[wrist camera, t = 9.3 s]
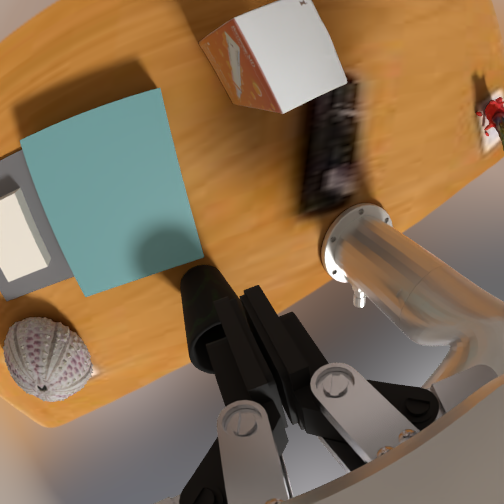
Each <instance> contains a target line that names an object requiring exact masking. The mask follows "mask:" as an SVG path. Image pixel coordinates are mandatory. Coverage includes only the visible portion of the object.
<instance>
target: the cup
mask: <svg viewBox="0 0 504 504" xmlns="http://www.w3.org/2000/svg"><path fill="white" fill-rule="evenodd" d="M180 288H181V297H182V305H183V314H184V322H185V330H186V337H187V344H188V352H189V357H190V360H191V362H192V363H193V365H194V366H195V367H196V368H198V369H199V370H201V371H204V372H206V373H210V374H215V373H214V370H213V367H212V364H211V361H210V357H209V354H208V351H207V347H206V344H208V343H211V342H213V341H216V340H219V339H222V338H224V337H226V334H225V332H224V329H223V327H222V324H221V321H220V319H219V316H218V313H217V311H216V308H215V305H214V303H213V301H216V300H219V299H221V298H224V297H227V296H228V298H229V300H231V299H234V298H235V299H236V301H237V303H238V305H239V307H240V309H241V311H242V314H243V316H244V318H245V320H246V317H245V314H244V310H243V307H242V304H241V301H240V299H239V298H238V296H237V295H236V294H235V292H234V291H233V289H232V288H231V287H230V285H229V284H228V282H227V281H226V280H225V278H224V277H223V275H222V274H221V272H220V271H219V270H218V269H216V268H215V267H213V266H209V265H199V266H196V267H193V268H191V269H190V270H188V271H187V272H186V273H185V274H184V276H183V278H182V280H181V287H180ZM246 322H247V320H246ZM247 324H248V323H247Z"/></svg>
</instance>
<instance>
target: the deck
mask: <svg viewBox="0 0 504 504" xmlns="http://www.w3.org/2000/svg"><path fill="white" fill-rule="evenodd" d="M20 143H21V147H22V150H23V153H24V156H25V159H26V162H27V165H28V168H29V171H30V174H31V177H32V179H33V182H34V185H35V188H36V190H37V193H38V196H39V198H40V201H41V203H42V206H43V208H44V211H45V213H46V216H47V218H48V220H49V223H50V225H51V227H52V230H53V232H54V234H55V236H56V239H57V241H58V243H59V245H60V247H61V249H62V252H63V254H64V256H65V258H66V260H67V262H68V264H69V266H70V268H71V270H72V272H73V274H74V276H75V278H76V280H77V282H78V284H79V286H80V288H81V290H82V291H83V293H84V295H85V297H87V296H90V295H93V294H96V293H99V292H102V291H105V290H108V289H111V288H114V287H117V286H120V285H123V284H126V283H129V282H132V281H135V280H138V279H141V278H144V277H146V276H149V275H152V274H155V273H158V272H161V271H164V270H167V269H170V268H173V267H176V266H179V265H182V264H185V263H188V262H191V261H194V260H197V259H200V258H203V257H204V254H203V251H202V247H201V244H200V240H199V237H198V233H197V230H196V226H195V223H194V219H193V216H192V212H191V208H190V205H189V201H188V197H187V194H186V190H185V186H184V182H183V179H182V175H181V171H180V167H179V163H178V159H177V155H176V151H175V147H174V143H173V139H172V135H171V131H170V127H169V123H168V119H167V115H166V111H165V106H164V102H163V98H162V93H161V89H160V88H157V89H153V90H150V91H146V92H143V93H140V94H136V95H133V96H130V97H127V98H124V99H121V100H118V101H115V102H112V103H109V104H106V105H103V106H100V107H97V108H95V109H92V110H89V111H87V112H84V113H81V114H79V115H76V116H74V117H71V118H69V119H66V120H64V121H61V122H59V123H57V124H54V125H52V126H50V127H48V128H45V129H43V130H41V131H39V132H37V133H34V134H32V135H30V136H28V137H26V138H24V139H22V140H20Z"/></svg>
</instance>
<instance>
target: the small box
mask: <svg viewBox="0 0 504 504" xmlns="http://www.w3.org/2000/svg"><path fill="white" fill-rule="evenodd" d="M198 44H199V45H200V47H201V48H202V50H203V51H204V53H205V55H206V56H207V58H208V60H209V61H210V63H211V65H212V67H213V68H214V70H215V72H216V74H217V75H218V77H219V79H220V81H221V83H222V84H223V86H224V88H225V90H226V92H227V94H228V96H229V98H230V99H231V101H232V103H233V104H235V105H241V106H246V107H252V108H257V109H263V110H267V111H272V112H277V113H282V114H284V113H286V112H288V111H290V110H292V109H294V108H296V107H298V106H300V105H302V104H304V103H306V102H308V101H310V100H312V99H314V98H316V97H318V96H320V95H322V94H325V93H327V92H329V91H331V90H333V89H335V88H338V87H340V86H342V85H344V84H346V83H347V79H346V76H345V73H344V71H343V68H342V66H341V63H340V60H339V58H338V56H337V53H336V51H335V48H334V46H333V43H332V40H331V38H330V35H329V33H328V31H327V29H326V27H325V25H324V24H323V22H322V20H321V18H320V16H319V14H318V12H317V10H316V8H315V6H314V4H313V2H312V0H278V1H275V2H273V3H270V4H267V5H265V6H262V7H259V8H257V9H254V10H252V11H249V12H247V13H244V14H242V15H239V16H237V17H234V18H232V19H231V20H229V21H228V22H226V23H225V24H223V25H222V26H220V27H219V28H217V29H216V30H214V31H213V32H212V33H210V34H209V35H207V36H206V37H205V38H203V39H202V40H201V41H199V43H198Z"/></svg>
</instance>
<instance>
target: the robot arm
mask: <svg viewBox="0 0 504 504" xmlns="http://www.w3.org/2000/svg"><path fill="white" fill-rule="evenodd" d="M321 258H322V264H323V266H324V269H325V270H326V272H327V273H328V274H329V275H330V276H331V277H332V278H333V279H335V280H337V281H339V282H344V283H350V284H351V285H352V289H353V291H354V302H353V303H354V305H355V306H356V307H363V306H364V305H365V300H366V296H367V297H368V298H369V299H370V300H371V301H372V302H373V303H374V304H375V305H376V306H377V307H378V308H379V309H380V310H381V311H382V312H383V313H384V314H385V315H386V316H387V317H388V318H389V319H390V320H391V321H392V322H393V323H394V324H395V325H396V326H397V327H398V328H399V329H400V330H401V331H402V332H404V334H405V335H406V336H407V337H408V338H410V339H411V340H412V341H414V342H416V343H418V344H420V345H425V346H441V345H450V350H449V352H448V353H447V355H446V356H445V358H444V359H443V361H442V363H441V364H440V365H439V366H438V368H437V369H436V370H435V371H434V373H433V374H432V375H431V376H430V378H429V379H428V380H427V381H426V382H425V383H424V385H423V386H422V387H421V388H420V387H412V386H405V385H398V384H391V383H384V382H378V381H371V380H366V379H365V378H363V377H362V376H361V375H360V374H359V373H358V372H357V371H356V370H355V369H354V368H352V367H351V366H350V365H347V364H344V363H331V364H329V363H328V362H327V360H326V359H325V358H324V356H323V355H322V353H321V352H320V350H319V349H318V347H317V346H316V344H315V343H314V341H313V340H312V338H311V337H310V335H309V334H308V333H307V331H306V330H305V328H304V327H303V325H302V324H301V322H300V321H299V319H298V318H297V316H296V315H295V314H294V313H293V312H290V313H287V314H285V315H282V316H280V317H278V315H277V314H276V312H275V310H274V309H273V307H272V306H271V304H270V302H269V301H268V299H267V297H266V296H265V294H264V293H263V291H262V289H261V288H260V286H259V285H257V286H254V287H251V288H249V289H246V290H244V295H242V296H240V301H241V304H242V307H243V310H244V314H245V317H246V320H247V322H246V320H245V318H244V316H243V314H242V311H241V309H240V307H239V305H238V303H237V301H236V299H235V298H234V299H231V300H229V298H228V296H227V297H224V298H221V299H219V300H216V301H213V303H214V305H215V308H216V311H217V313H218V316H219V319H220V321H221V324H222V327H223V329H224V332H225V334H226V337H224V338H222V339H219V340H216V341H213V342H211V343H208V344H206V347H207V351H208V354H209V357H210V361H211V364H212V367H213V370H214V373H215V376H216V379H217V382H218V386H219V389H220V392H221V395H222V398H223V400H224V403H225V406H226V407H225V408H224V409H223V410H222V411H221V413H220V414H219V417H218V419H217V432H218V437H217V439H216V440H215V442H214V443H213V445H212V447H211V448H210V450H209V451H208V453H207V454H206V456H205V458H204V459H203V461H202V462H201V463H200V465H199V467H198V468H197V470H196V471H195V473H194V474H193V476H192V477H191V479H190V480H189V482H188V483H187V485H186V486H185V487H184V489H183V491H182V493H181V494H180V495H178V496H176V497H174V498H170V497H168V498H166V499H164V500H161V501H159V502H157V503H155V504H504V302H503V301H501V300H500V299H498V298H496V297H495V296H493V295H491V294H489V293H488V292H486V291H485V290H483V289H481V288H480V287H478V286H477V285H476V284H474V283H473V282H471V281H470V280H468V279H467V278H465V277H464V276H462V275H461V274H460V273H458V272H457V271H456V270H454V269H453V268H451V267H450V266H449V265H447V264H446V263H444V262H443V261H442V260H440V259H439V258H437V257H436V256H435V255H433V254H432V253H430V252H429V251H427V250H426V249H424V248H423V247H421V246H420V245H419V244H417V243H415V242H414V241H413V240H411V239H410V238H408V237H407V236H405V235H404V234H402V233H401V232H399V231H397V230H396V229H394V228H393V226H392V221H391V219H390V216H389V215H388V213H387V212H386V211H385V210H384V209H382V208H381V207H379V206H377V205H375V204H372V203H361V204H357V205H354V206H352V207H350V208H348V209H347V210H346V211H344V212H343V213H341V214H340V215H339V216H338V217H337V218H336V219H335V221H334V222H333V223H332V225H331V226H330V228H329V230H328V231H327V233H326V235H325V238H324V241H323V245H322V250H321ZM247 323H248V324H247ZM281 403H282V404H281ZM282 405H283V407H284V409H285V411H286V413H287V415H288V417H289V419H290V421H291V423H292V424H293V425H294V424H296V423H298V424H299V426H300V428H301V429H302V430H303V429H305V431H306V433H308V434H312V435H316V436H318V438H319V440H320V441H321V442H322V443H323V445H324V446H325V447H326V448H327V450H328V451H329V452H330V453H331V454H332V456H333V457H334V458H335V459H336V460H337V462H338V463H339V464H340V465H341V466H342V468H343V469H344V470H345V471H346V472H347V474H346V475H344V476H342V477H339V478H337V479H335V480H333V481H331V482H329V483H327V484H324V485H322V486H320V487H318V488H315V489H313V490H311V491H308V492H306V493H303V494H301V495H299V496H296V497H294V496H293V492H292V488H291V484H290V481H289V477H288V473H287V470H286V466H285V462H284V458H283V455H282V453H283V451H284V449H285V447H286V445H287V443H288V438H287V434H286V431H285V428H287V427H288V425H287V421H286V418H285V414H284V411H283V407H282Z"/></svg>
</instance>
